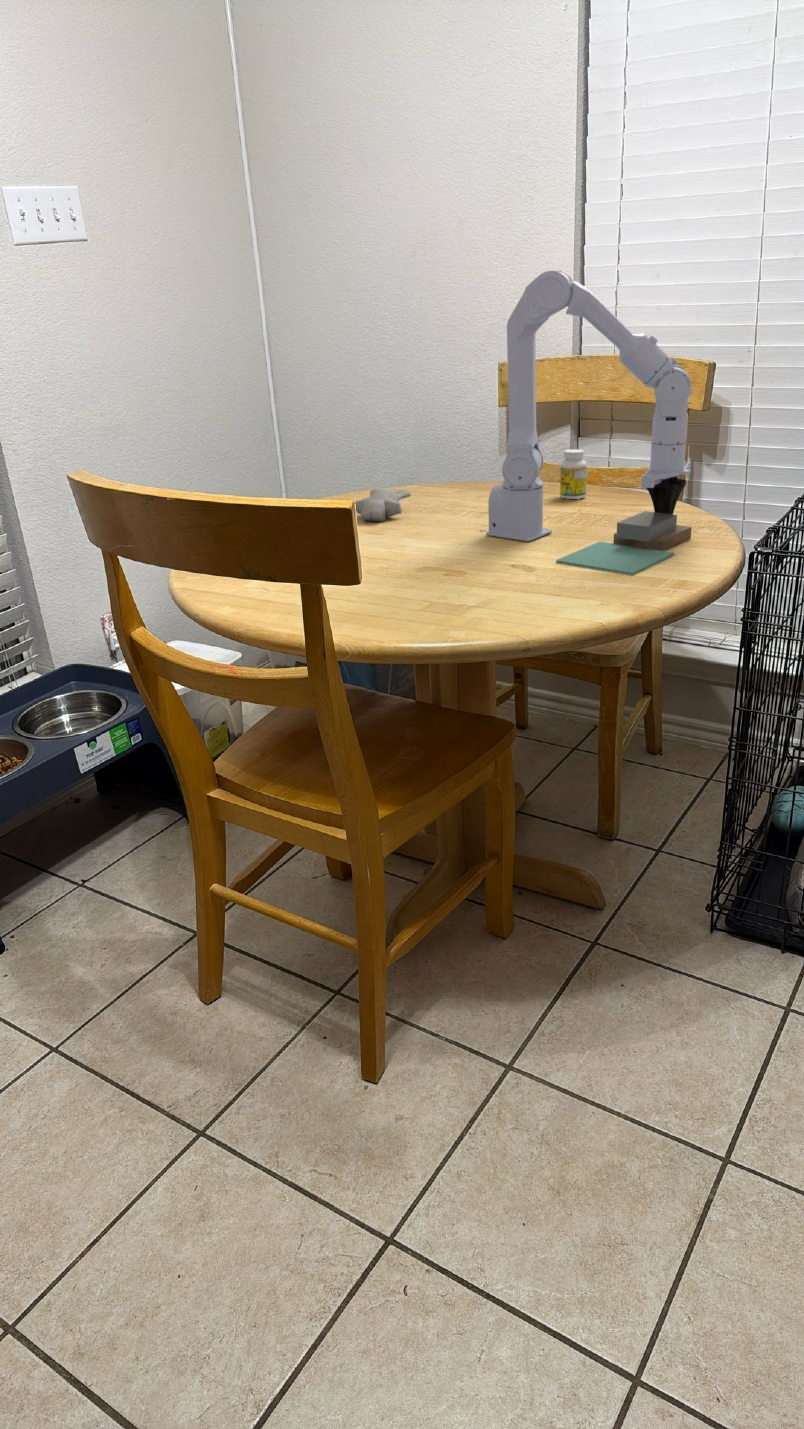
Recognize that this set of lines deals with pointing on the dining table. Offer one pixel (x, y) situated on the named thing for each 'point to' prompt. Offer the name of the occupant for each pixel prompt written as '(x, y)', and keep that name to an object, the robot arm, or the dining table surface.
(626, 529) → the slate tile
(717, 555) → the dining table surface
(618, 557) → the teal mat
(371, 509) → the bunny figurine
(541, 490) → the robot arm
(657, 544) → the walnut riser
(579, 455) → the supplement bottle
